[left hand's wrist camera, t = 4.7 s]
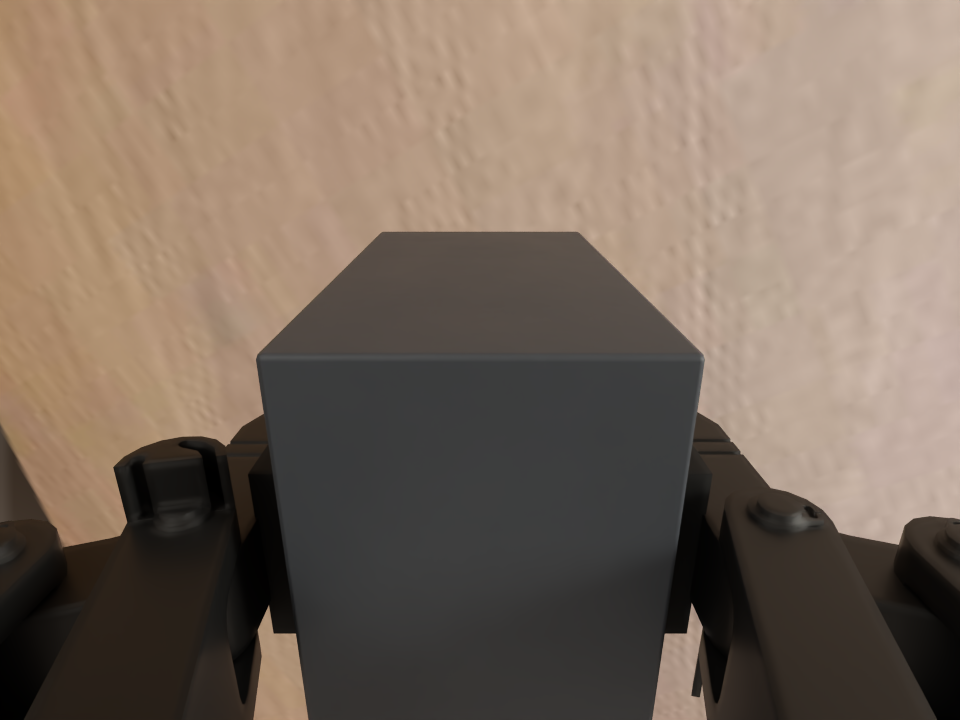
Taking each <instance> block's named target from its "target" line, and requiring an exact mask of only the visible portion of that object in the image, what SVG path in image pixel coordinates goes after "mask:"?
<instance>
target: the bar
mask: <svg viewBox="0 0 960 720" xmlns="http://www.w3.org/2000/svg"><path fill="white" fill-rule="evenodd" d="M704 361H705V359H704V355H703V354H702V353H701V352H700V351H699V350H698V349H697V348H696V347H695V346H694V345H693V344H692V343H691V342H690V341H689V340H688V339H687V338H686V337H685V336H684V335H683V334H682V333H681V332H680V331H679V330H678V329H677V328H676V327H675V326H674V325H673V324H672V323H671V322H670V321H669V320H668V319H667V318H666V317H664V316H663V315H662V314H661V313H660V312H659V311H658V310H657V309H656V308H655V307H654V306H653V305H652V304H651V303H650V302H649V301H648V300H647V299H646V298H645V297H644V296H643V295H642V294H641V293H640V292H639V291H638V290H637V289H636V288H635V287H634V286H633V285H632V284H631V283H630V282H629V281H628V280H627V279H626V278H625V277H624V276H623V275H622V274H621V273H620V272H619V271H618V270H617V269H616V268H615V267H613V266H612V265H611V264H610V263H609V262H608V261H607V260H606V259H605V258H604V257H603V256H602V255H601V254H600V253H599V252H598V251H597V250H596V249H595V248H594V247H593V246H592V245H591V244H590V243H589V242H588V241H587V240H586V239H585V238H584V237H583V236H582V235H581V234H580V233H578V232H382V233H381V234H380V235H378V236H377V237H376V238H375V239H374V240H373V241H372V242H371V243H370V244H369V245H368V246H367V247H366V248H365V249H364V250H363V251H362V252H361V253H360V254H359V255H358V256H357V257H356V258H355V259H354V260H353V261H352V262H351V263H350V264H349V265H348V266H347V267H346V268H345V269H344V270H343V271H342V272H341V273H340V274H339V275H338V276H337V277H336V278H335V279H334V280H333V281H332V282H331V283H330V284H329V285H328V286H327V287H326V288H325V289H324V290H323V291H322V292H321V293H320V294H319V295H318V296H317V297H315V298H314V299H313V300H312V301H311V302H310V303H309V304H308V305H307V306H306V307H305V308H304V309H303V310H302V311H301V312H300V313H299V314H298V315H297V316H296V317H295V318H294V319H293V320H292V321H291V322H290V323H289V324H288V325H287V326H286V327H285V328H284V329H283V330H282V331H281V332H280V333H279V334H278V335H277V336H276V337H275V338H274V339H273V340H272V341H271V342H270V343H269V344H268V345H267V346H266V347H265V348H264V349H263V350H262V351H261V352H260V353H259V354H258V355H257V358H256V362H257V369H258V376H259V383H260V390H261V396H262V403H263V410H264V417H265V424H266V431H267V438H268V445H269V451H270V458H271V465H272V472H273V479H274V486H275V493H276V499H277V506H278V513H279V520H280V527H281V534H282V541H283V547H284V554H285V561H286V568H287V575H288V582H289V589H290V595H291V602H292V609H293V616H294V623H295V630H296V637H297V643H298V650H299V657H300V664H301V671H302V678H303V685H304V691H305V698H306V705H307V712H308V719H309V720H652V716H653V709H654V702H655V696H656V689H657V682H658V675H659V668H660V661H661V655H662V648H663V641H664V634H665V627H666V621H667V614H668V607H669V600H670V593H671V586H672V580H673V573H674V566H675V559H676V552H677V545H678V539H679V532H680V525H681V518H682V511H683V504H684V498H685V491H686V484H687V477H688V470H689V464H690V457H691V450H692V443H693V436H694V429H695V423H696V416H697V409H698V402H699V395H700V388H701V382H702V375H703V368H704Z"/></svg>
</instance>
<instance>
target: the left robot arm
mask: <svg viewBox="0 0 960 720" xmlns="http://www.w3.org/2000/svg"><path fill="white" fill-rule="evenodd" d="M230 442H231V443H230V444H228V445H227V446H226V447H225V446H224V445H223V444H222V443H220V442H219V441H218V440H216V439H211V438H207V437H202V436H200V437H179V438H173V439H168V440H162V441H159V442H156V443H153V444H150V445H147V446H144V447H141V448H139V449H138V450H136V451H134V452H132V453H130V454H128V455H127V456H125V457H123V458H122V459H121V460H120V461H119V462H118V463H117V464H116V465H115V466H114V467H113V468H114V472H115V476H116V480H117V484H118V487H119V491H120V495H121V499H122V503H123V507H124V511H125V515H126V519H127V524H126V526H125V528H124V530H123V532H122V534H121V536H118V537H114V538H110V539H105V540H100V541H94V542H89V543H84V544H79V545H74V546H68V547H63V548H62V544H61V541H60V538H59V535H58V531H57V528H55V527H54V526H53V525H52V524H50V523H49V522H47V521H41V520H34V519H27V520H18V521H6V522H1V523H0V720H253V717H254V710H255V702H256V695H257V687H258V680H259V672H260V665H261V657H262V656H261V648H260V641H259V636H258V628H259V626H260V623H261V621H262V619H263V617H264V615H265V612H266V610H267V608H268V606H269V607H270V613H271V619H272V626H273V632H274V633H296V630H295V623H294V616H293V609H292V602H291V595H290V589H289V582H288V575H287V568H286V561H285V554H284V547H283V541H282V534H281V527H280V520H279V513H278V506H277V499H276V493H275V486H274V479H273V472H272V465H271V458H270V451H269V445H268V438H267V431H266V424H265V417H264V414H263V415H261V416H259V417H258V418H256V419H254V420H253V421H251V422H249V423H248V424H246V425H244V426H243V427H242V428H241V429H240V430H239V431H238V433H237V434H236V435H235V436H234V438H233V439H232V440H231V441H230ZM691 604H693V606H694V608H695V611H696V613H697V615H698V617H699V619H700V622H701V624H702V626H703V630H702V636H701V641H700V647H699V653H698V658H697V664H696V670H695V675H694V681H693V688H692V695H691V696H695V697H700V693H701V687H702V686H703V693H704V701H705V708H706V716H707V720H960V520H959V519H955V518H942V517H932V516H929V517H922V518H915V519H913V520H911V521H910V522H909V523H908V524H906V525H905V527H904V530H903V533H902V536H901V540H900V543H899V545H896V544H891V543H885V542H880V541H875V540H870V539H865V538H859V537H854V536H849V535H845V534H841V533H838V531H837V529H836V527H835V525H834V523H833V522H832V520H831V519H830V518H829V517H828V516H827V515H826V513H825V512H824V511H823V510H822V509H820V508H819V507H817V506H816V505H814V504H813V503H811V502H810V501H808V500H806V499H804V498H801V497H799V496H796V495H794V494H791V493H789V492H786V491H781V490H776V489H772V488H770V487H769V486H768V484H767V483H766V482H765V481H764V480H763V478H762V477H761V476H760V475H759V473H758V472H757V471H756V470H755V469H754V467H753V466H752V465H751V464H750V463H749V461H748V460H747V459H746V458H745V456H744V455H741V454H740V450H739V449H738V448H737V447H736V445H735V444H734V443H733V442H730V438H729V437H728V436H727V435H726V433H725V432H724V431H723V430H722V428H721V427H720V426H719V425H718V424H716V423H715V422H713V421H711V420H710V419H708V418H706V417H705V416H703V415H701V414H700V413H698V412H697V416H696V423H695V429H694V436H693V443H692V450H691V457H690V464H689V470H688V477H687V484H686V491H685V498H684V504H683V511H682V518H681V525H680V532H679V539H678V545H677V552H676V559H675V566H674V573H673V580H672V586H671V593H670V600H669V607H668V614H667V621H666V627H665V633H687V628H688V622H689V616H690V610H691Z"/></svg>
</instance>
